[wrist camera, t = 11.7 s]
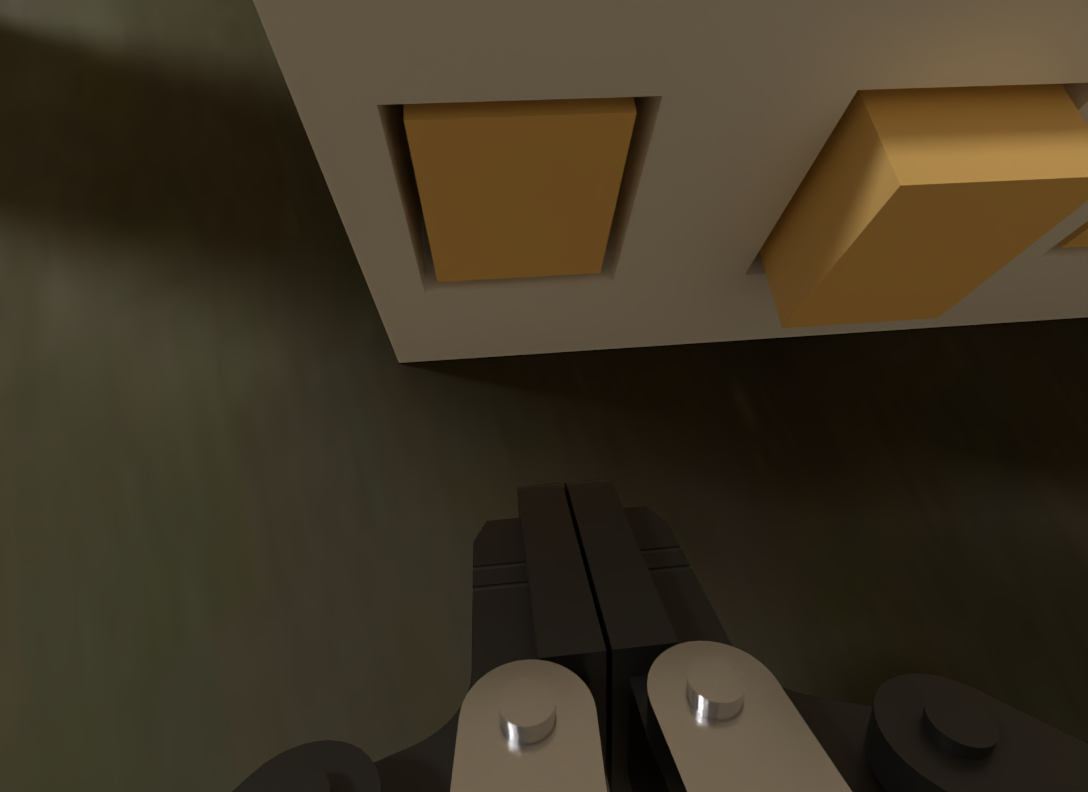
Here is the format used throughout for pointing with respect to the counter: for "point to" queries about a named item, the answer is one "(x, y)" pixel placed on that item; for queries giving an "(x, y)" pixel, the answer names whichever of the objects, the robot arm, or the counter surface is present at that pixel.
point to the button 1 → (519, 183)
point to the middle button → (924, 200)
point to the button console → (653, 148)
